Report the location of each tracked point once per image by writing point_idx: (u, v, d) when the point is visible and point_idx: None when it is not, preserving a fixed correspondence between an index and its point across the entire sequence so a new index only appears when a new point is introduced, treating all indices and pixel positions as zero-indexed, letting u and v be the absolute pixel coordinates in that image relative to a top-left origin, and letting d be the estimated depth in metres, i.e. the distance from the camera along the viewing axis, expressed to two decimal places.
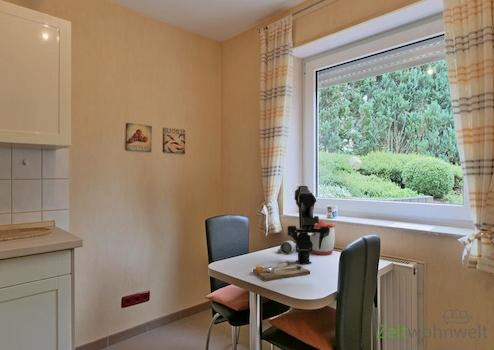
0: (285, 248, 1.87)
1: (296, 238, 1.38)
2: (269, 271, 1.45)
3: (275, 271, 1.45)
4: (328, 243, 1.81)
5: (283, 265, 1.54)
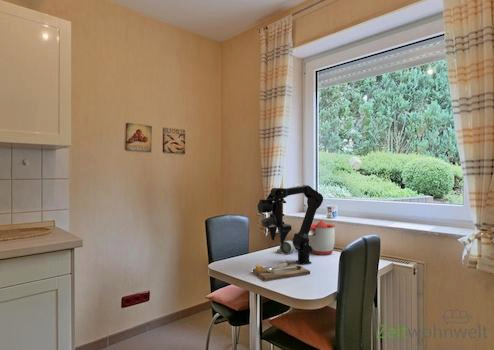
0: (284, 248, 1.87)
1: None
2: (269, 271, 1.45)
3: (275, 271, 1.45)
4: (328, 243, 1.81)
5: (283, 265, 1.54)
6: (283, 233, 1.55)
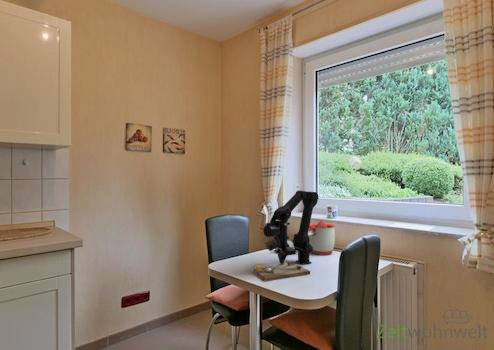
0: None
1: (278, 256, 1.57)
2: (269, 271, 1.45)
3: (275, 271, 1.45)
4: (328, 243, 1.81)
5: (283, 265, 1.54)
6: (283, 254, 1.56)
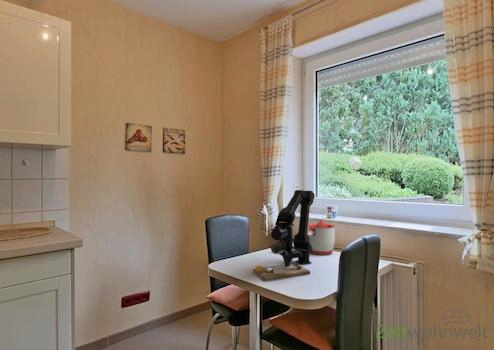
0: None
1: (283, 258, 1.53)
2: (268, 271, 1.45)
3: (275, 271, 1.45)
4: (328, 243, 1.81)
5: None
6: (288, 257, 1.51)
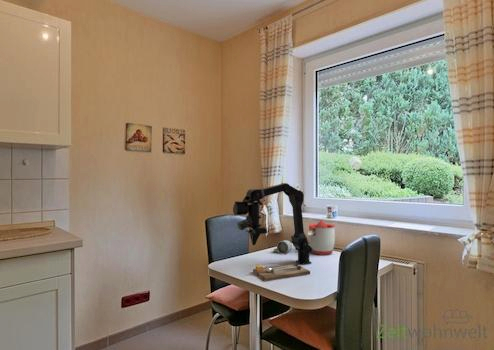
0: (281, 248, 1.88)
1: (250, 236, 1.56)
2: (268, 271, 1.45)
3: (275, 271, 1.45)
4: (328, 243, 1.81)
5: None
6: (255, 234, 1.54)
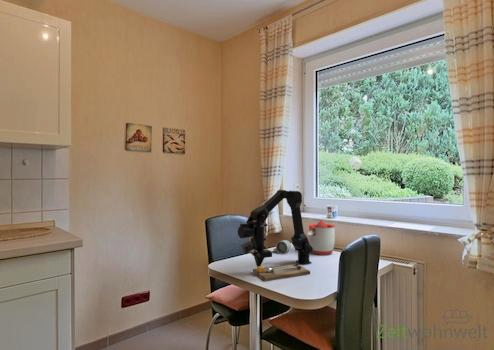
0: (281, 248, 1.88)
1: (255, 258, 1.51)
2: (268, 271, 1.45)
3: (275, 271, 1.45)
4: (328, 243, 1.81)
5: None
6: (260, 257, 1.49)
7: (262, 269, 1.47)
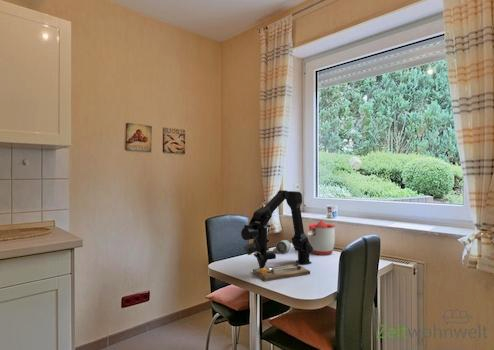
0: (280, 247, 1.88)
1: (258, 260, 1.48)
2: (268, 271, 1.45)
3: (275, 271, 1.45)
4: (328, 243, 1.81)
5: None
6: (263, 259, 1.46)
7: (265, 271, 1.44)
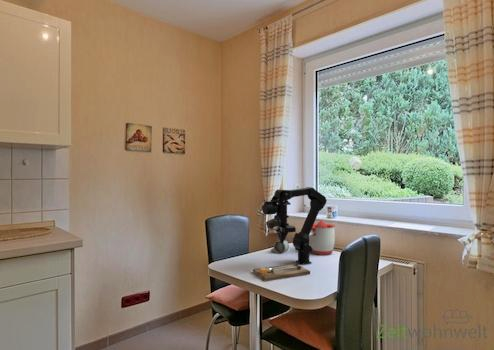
0: (278, 247, 1.89)
1: (278, 234, 1.62)
2: (268, 271, 1.45)
3: (275, 271, 1.45)
4: (328, 243, 1.81)
5: None
6: (283, 233, 1.60)
7: (265, 271, 1.44)
